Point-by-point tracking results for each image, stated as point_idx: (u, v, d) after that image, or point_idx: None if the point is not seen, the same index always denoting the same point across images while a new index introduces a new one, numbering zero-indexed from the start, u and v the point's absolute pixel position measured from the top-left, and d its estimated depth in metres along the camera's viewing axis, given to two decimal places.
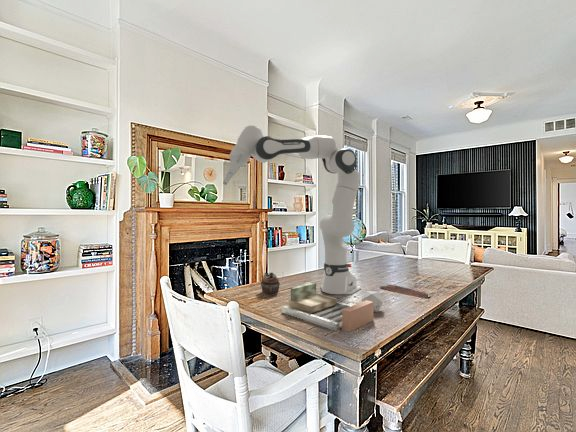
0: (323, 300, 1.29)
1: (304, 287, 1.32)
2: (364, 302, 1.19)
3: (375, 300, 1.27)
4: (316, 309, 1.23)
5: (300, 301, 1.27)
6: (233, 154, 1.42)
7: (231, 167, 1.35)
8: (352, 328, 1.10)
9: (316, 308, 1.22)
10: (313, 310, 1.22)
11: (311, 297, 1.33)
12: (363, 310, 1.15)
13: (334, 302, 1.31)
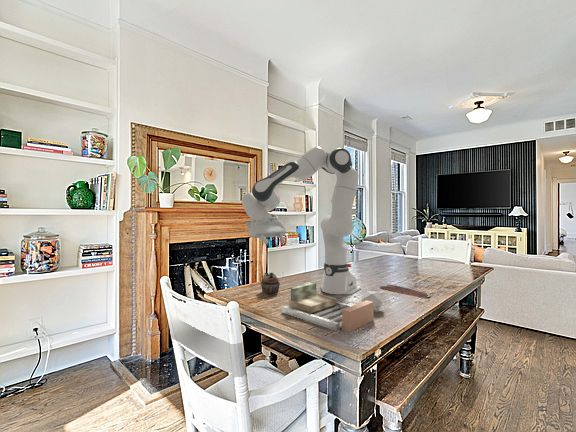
0: (323, 300, 1.29)
1: (304, 287, 1.32)
2: (364, 302, 1.19)
3: (375, 300, 1.27)
4: (316, 309, 1.23)
5: (300, 301, 1.27)
6: None
7: (251, 235, 1.42)
8: (352, 328, 1.10)
9: (316, 308, 1.22)
10: (313, 310, 1.22)
11: (311, 297, 1.33)
12: (363, 310, 1.15)
13: (334, 302, 1.31)
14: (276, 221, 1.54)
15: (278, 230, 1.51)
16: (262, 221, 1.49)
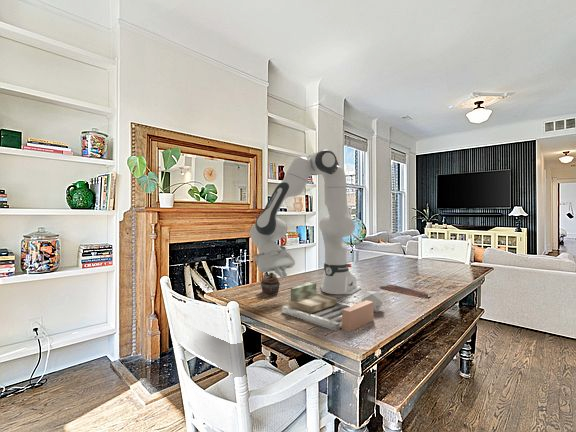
0: (323, 300, 1.29)
1: (304, 287, 1.32)
2: (364, 302, 1.19)
3: (375, 300, 1.27)
4: (316, 309, 1.23)
5: (300, 301, 1.27)
6: None
7: (259, 269, 1.39)
8: (352, 328, 1.10)
9: (316, 308, 1.22)
10: (313, 310, 1.22)
11: (311, 297, 1.33)
12: (363, 310, 1.15)
13: (334, 302, 1.31)
14: (285, 253, 1.51)
15: (287, 263, 1.47)
16: (271, 254, 1.45)
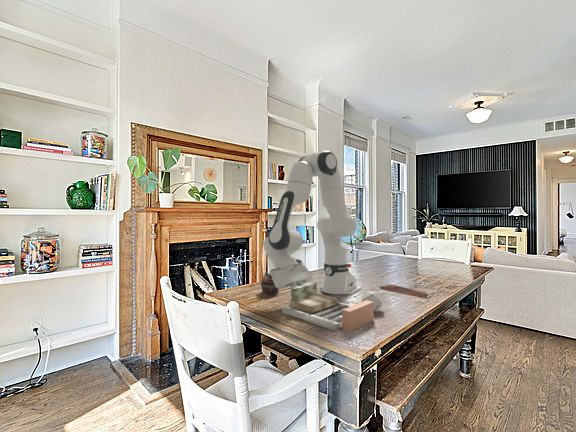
0: (323, 300, 1.29)
1: (305, 287, 1.32)
2: (364, 302, 1.19)
3: (375, 300, 1.27)
4: (317, 309, 1.22)
5: (300, 301, 1.27)
6: None
7: (276, 285, 1.31)
8: (352, 328, 1.10)
9: (316, 308, 1.22)
10: (314, 311, 1.21)
11: (312, 297, 1.33)
12: (363, 310, 1.15)
13: (335, 302, 1.31)
14: (301, 266, 1.43)
15: (304, 277, 1.40)
16: (287, 268, 1.37)
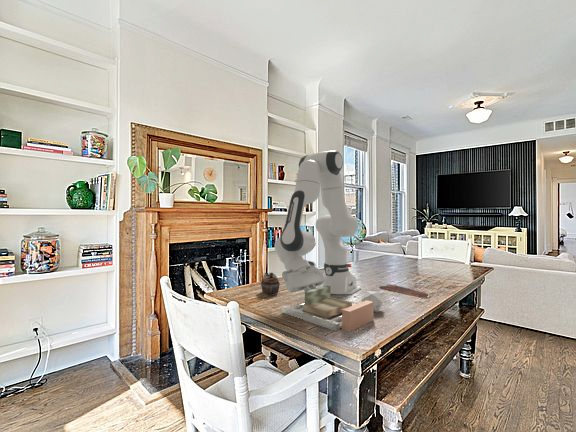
0: (338, 304, 1.23)
1: (318, 290, 1.27)
2: (364, 302, 1.19)
3: (375, 300, 1.27)
4: (332, 314, 1.17)
5: (315, 305, 1.22)
6: None
7: (288, 289, 1.26)
8: (352, 328, 1.10)
9: (332, 313, 1.17)
10: (330, 315, 1.16)
11: (326, 301, 1.27)
12: (363, 310, 1.15)
13: None
14: (313, 269, 1.38)
15: (317, 280, 1.34)
16: (299, 271, 1.32)
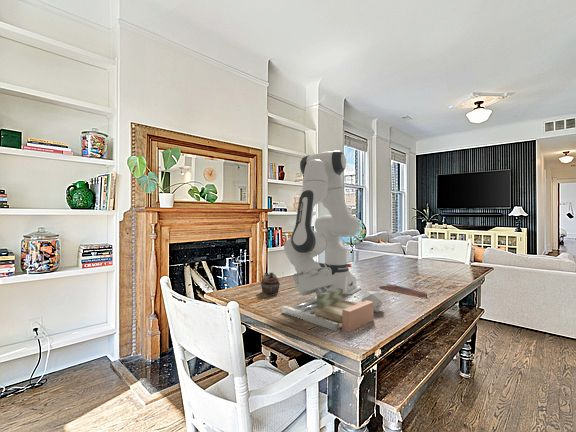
0: None
1: (331, 294, 1.23)
2: (364, 302, 1.19)
3: (375, 300, 1.27)
4: None
5: (327, 309, 1.17)
6: None
7: (300, 292, 1.21)
8: (352, 328, 1.10)
9: None
10: None
11: (338, 304, 1.23)
12: (363, 310, 1.15)
13: None
14: (325, 271, 1.34)
15: (328, 282, 1.30)
16: (310, 273, 1.28)
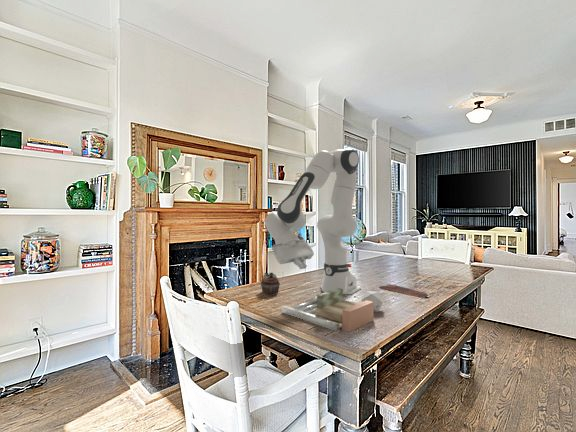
0: None
1: (331, 294, 1.23)
2: (364, 302, 1.19)
3: (375, 300, 1.27)
4: None
5: (328, 309, 1.17)
6: None
7: (278, 261, 1.30)
8: (352, 328, 1.10)
9: None
10: None
11: (338, 304, 1.23)
12: (363, 310, 1.15)
13: None
14: (303, 243, 1.42)
15: (306, 253, 1.39)
16: (289, 244, 1.36)
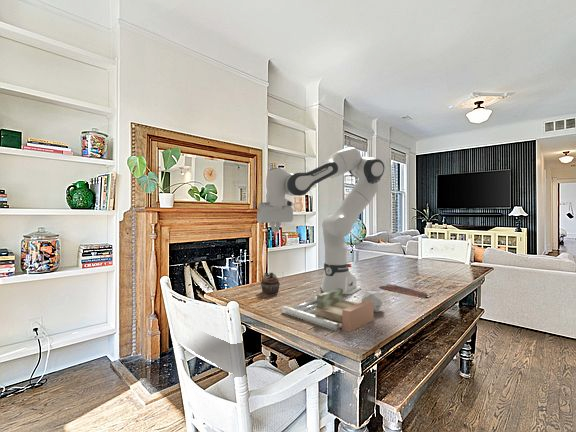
0: None
1: (331, 294, 1.23)
2: (364, 302, 1.19)
3: (375, 300, 1.27)
4: None
5: (328, 309, 1.17)
6: None
7: (257, 219, 1.41)
8: (352, 328, 1.10)
9: None
10: None
11: (338, 304, 1.23)
12: (363, 310, 1.15)
13: None
14: (288, 208, 1.50)
15: (285, 220, 1.49)
16: (275, 207, 1.44)
